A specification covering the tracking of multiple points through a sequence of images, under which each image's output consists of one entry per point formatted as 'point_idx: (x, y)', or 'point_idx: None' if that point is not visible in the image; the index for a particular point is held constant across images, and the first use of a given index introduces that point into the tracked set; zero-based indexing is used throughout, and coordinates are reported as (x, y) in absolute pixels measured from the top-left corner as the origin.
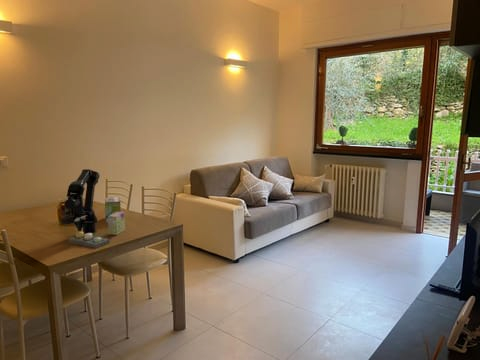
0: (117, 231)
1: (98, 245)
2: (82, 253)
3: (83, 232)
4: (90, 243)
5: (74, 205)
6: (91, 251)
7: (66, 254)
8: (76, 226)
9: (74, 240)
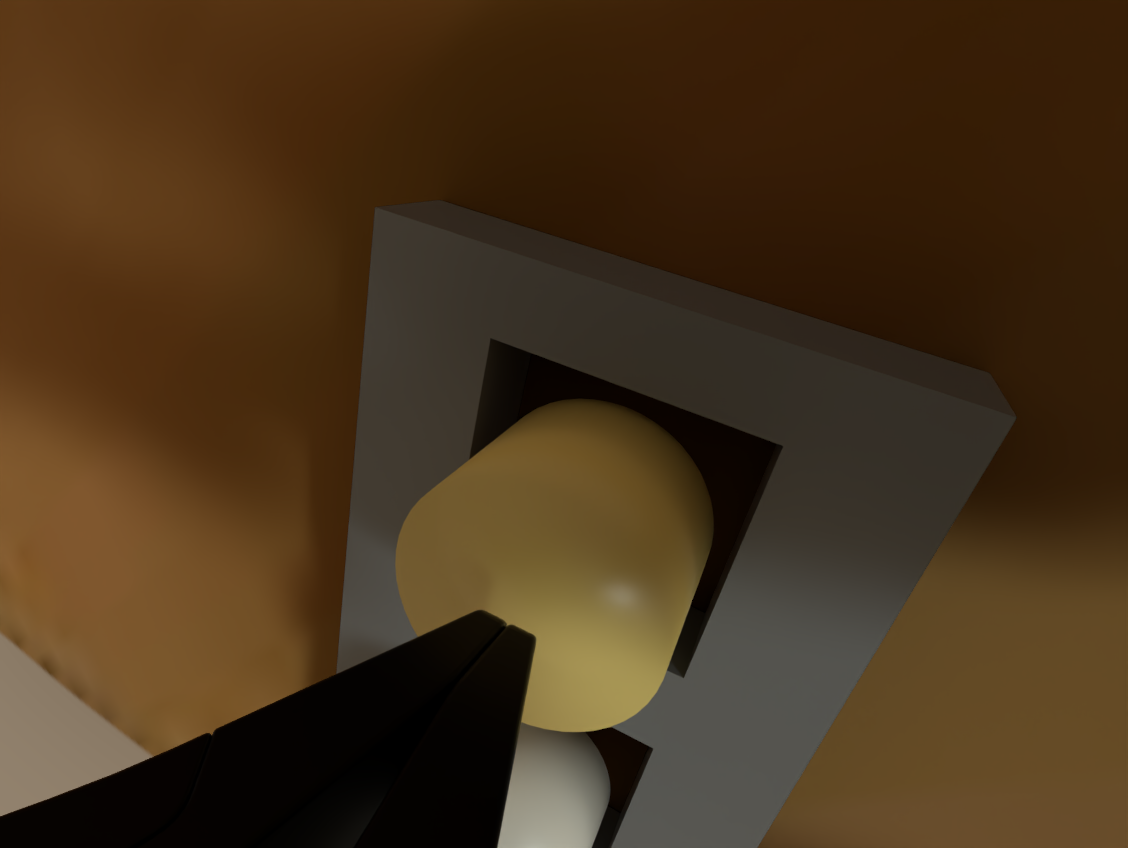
0: None
1: None
2: (167, 726)
3: (583, 725)
4: None
5: None
6: None
7: (57, 546)
8: (228, 750)
9: (361, 472)
